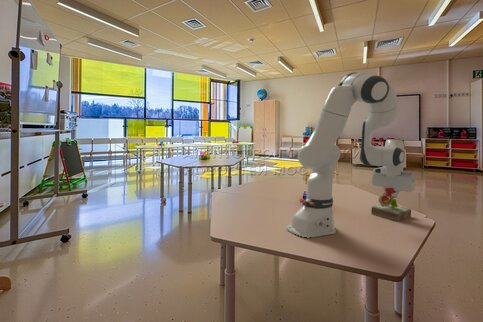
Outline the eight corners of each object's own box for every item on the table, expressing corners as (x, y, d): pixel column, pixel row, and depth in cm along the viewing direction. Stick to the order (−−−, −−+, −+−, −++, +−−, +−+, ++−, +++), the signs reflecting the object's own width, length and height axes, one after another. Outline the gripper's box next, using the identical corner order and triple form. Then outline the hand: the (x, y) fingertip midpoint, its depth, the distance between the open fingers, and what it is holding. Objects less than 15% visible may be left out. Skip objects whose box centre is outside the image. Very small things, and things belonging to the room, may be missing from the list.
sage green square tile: (396, 221, 122) (396, 213, 122) (371, 214, 133) (371, 206, 133) (410, 216, 128) (411, 209, 128) (385, 210, 140) (386, 203, 139)
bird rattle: (385, 213, 128) (402, 207, 127) (380, 194, 125) (398, 188, 124) (378, 207, 134) (395, 201, 133) (373, 189, 131) (390, 183, 130)
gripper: (418, 172, 121) (416, 200, 123) (377, 167, 139) (376, 192, 140) (411, 174, 118) (409, 202, 120) (370, 168, 136) (369, 193, 137)
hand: (391, 197), depth 130 cm, fingers closed on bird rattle, 2 cm apart
